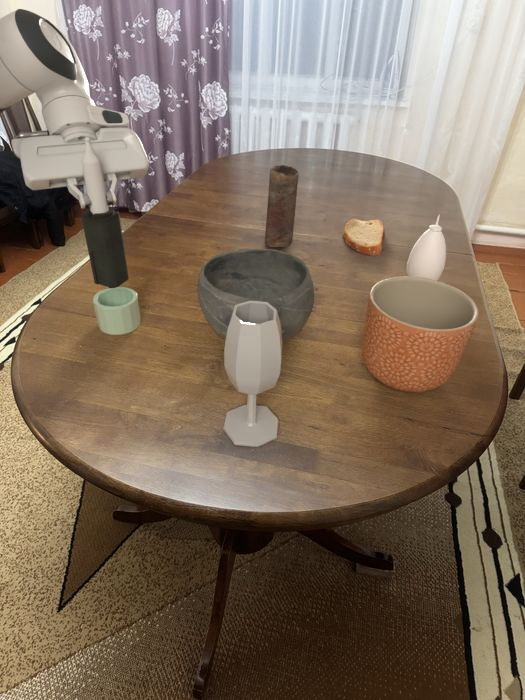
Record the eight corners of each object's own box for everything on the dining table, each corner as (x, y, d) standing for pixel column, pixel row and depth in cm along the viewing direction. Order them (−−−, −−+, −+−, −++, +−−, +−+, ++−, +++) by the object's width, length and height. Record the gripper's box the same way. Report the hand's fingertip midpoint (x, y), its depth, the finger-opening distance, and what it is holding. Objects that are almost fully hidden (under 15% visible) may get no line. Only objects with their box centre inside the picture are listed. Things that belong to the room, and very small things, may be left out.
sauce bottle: (443, 292, 108) (466, 217, 98) (419, 300, 105) (440, 223, 94) (418, 278, 114) (437, 205, 103) (395, 285, 110) (412, 211, 100)
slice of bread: (370, 258, 122) (373, 245, 119) (322, 235, 133) (323, 222, 130) (412, 242, 131) (415, 229, 129) (363, 222, 142) (366, 210, 140)
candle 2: (291, 240, 129) (297, 165, 117) (293, 251, 123) (300, 174, 111) (264, 239, 129) (267, 164, 117) (265, 250, 123) (268, 172, 111)
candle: (131, 277, 88) (110, 135, 73) (114, 289, 84) (88, 142, 69) (109, 271, 90) (85, 131, 75) (91, 283, 86) (62, 138, 71)
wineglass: (218, 411, 74) (215, 298, 62) (271, 404, 76) (278, 292, 64) (228, 453, 68) (227, 335, 55) (286, 443, 70) (297, 327, 57)
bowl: (180, 329, 92) (174, 260, 83) (264, 299, 103) (267, 235, 94) (241, 387, 79) (242, 312, 70) (330, 345, 90) (341, 276, 81)
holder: (98, 337, 89) (93, 310, 86) (98, 314, 95) (92, 289, 92) (142, 331, 91) (138, 305, 88) (139, 310, 97) (135, 284, 94)
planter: (373, 335, 93) (388, 267, 84) (460, 364, 87) (487, 293, 78) (340, 382, 81) (354, 308, 72) (438, 420, 75) (467, 344, 66)
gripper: (5, 121, 71) (31, 204, 71) (136, 113, 80) (160, 188, 79) (10, 145, 77) (34, 222, 76) (131, 135, 86) (154, 205, 85)
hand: (99, 204), depth 78 cm, fingers closed on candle, 3 cm apart
